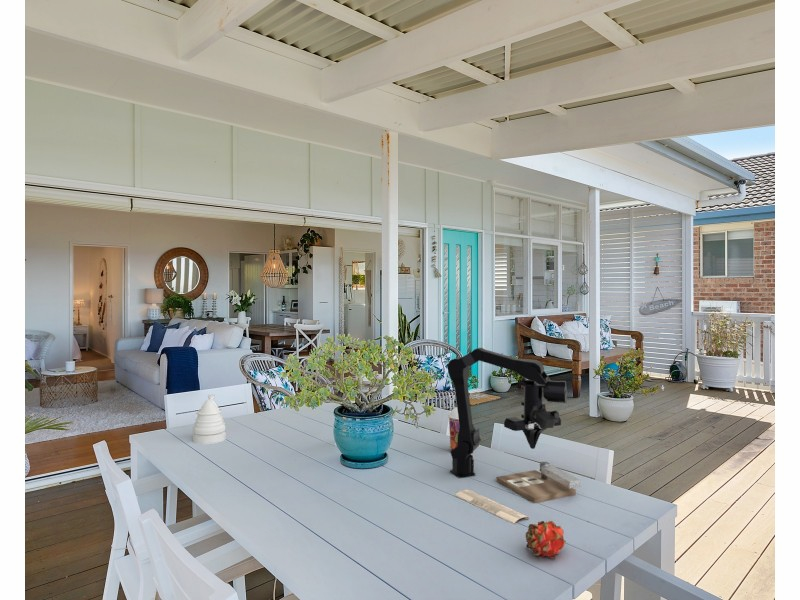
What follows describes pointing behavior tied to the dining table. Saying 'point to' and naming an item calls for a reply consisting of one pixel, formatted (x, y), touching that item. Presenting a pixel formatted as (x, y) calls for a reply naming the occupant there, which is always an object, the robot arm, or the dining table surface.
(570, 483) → the swing bar
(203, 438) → the honey pot
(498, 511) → the beige long curved strip
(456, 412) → the smoothie
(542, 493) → the label board
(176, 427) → the dining table surface
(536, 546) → the dragon fruit
